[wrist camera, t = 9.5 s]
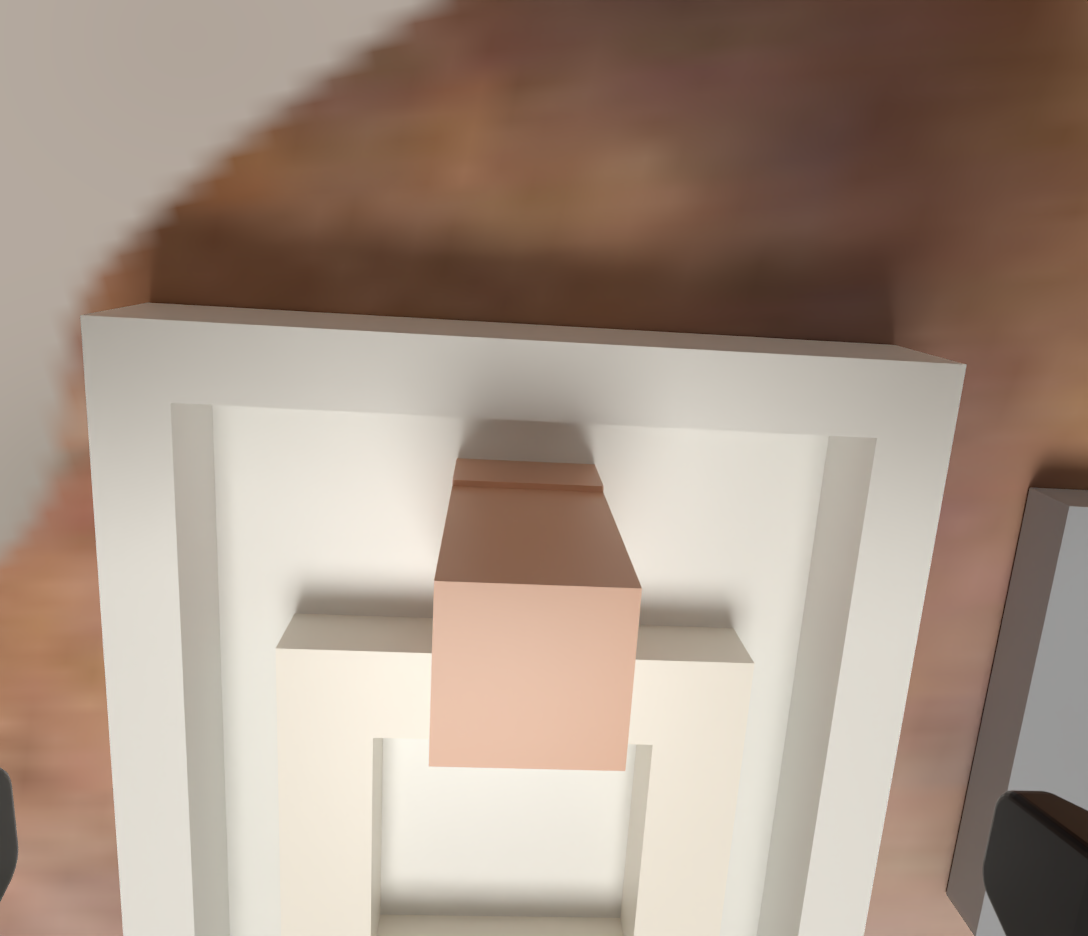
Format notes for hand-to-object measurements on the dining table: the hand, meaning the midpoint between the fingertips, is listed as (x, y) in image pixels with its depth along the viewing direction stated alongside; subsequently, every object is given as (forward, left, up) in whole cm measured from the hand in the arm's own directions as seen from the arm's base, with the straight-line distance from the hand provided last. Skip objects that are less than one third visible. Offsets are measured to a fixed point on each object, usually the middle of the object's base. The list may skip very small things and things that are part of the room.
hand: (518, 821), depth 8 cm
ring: (0, +4, -8) cm, 9 cm away
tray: (0, +4, -8) cm, 10 cm away
